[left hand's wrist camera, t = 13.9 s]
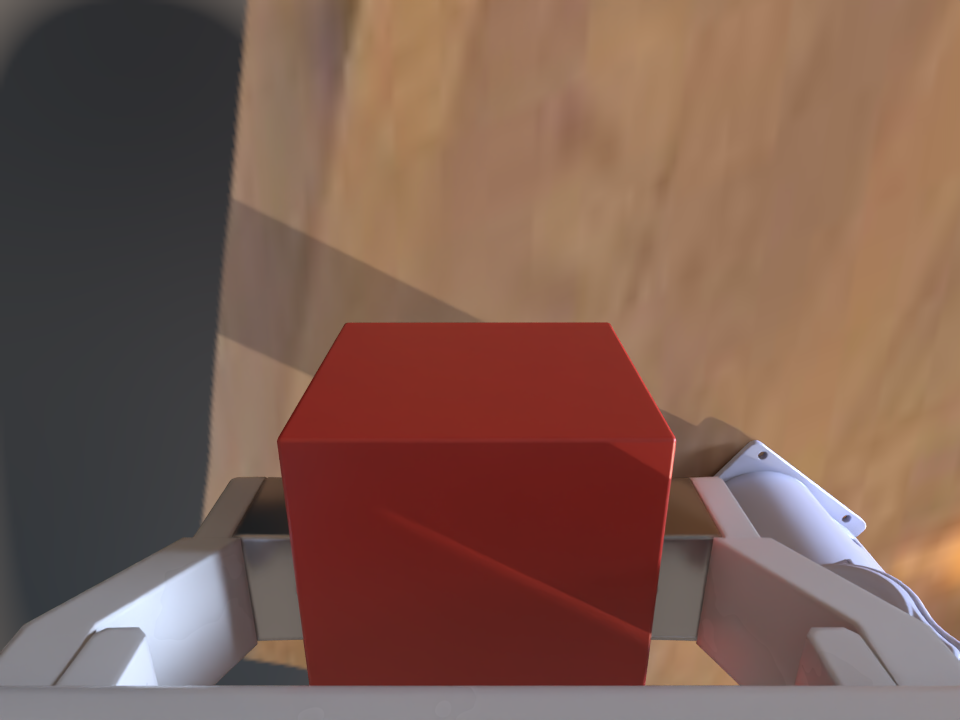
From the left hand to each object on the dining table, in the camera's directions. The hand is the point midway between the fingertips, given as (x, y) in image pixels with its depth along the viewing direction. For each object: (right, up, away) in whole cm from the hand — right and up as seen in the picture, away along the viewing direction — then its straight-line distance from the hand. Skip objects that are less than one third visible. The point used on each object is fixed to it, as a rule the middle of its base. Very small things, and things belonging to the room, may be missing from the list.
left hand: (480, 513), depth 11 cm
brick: (0, +1, +2) cm, 2 cm away
